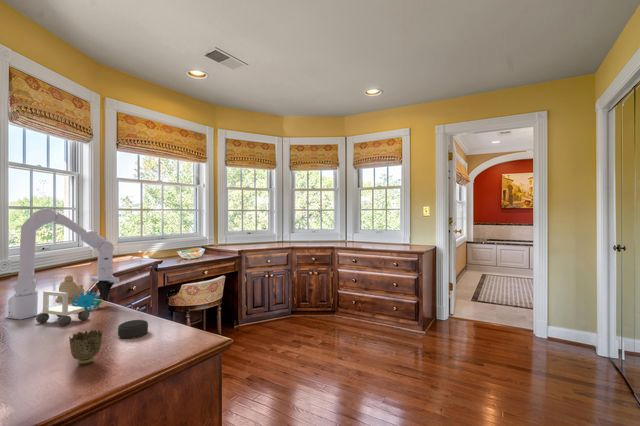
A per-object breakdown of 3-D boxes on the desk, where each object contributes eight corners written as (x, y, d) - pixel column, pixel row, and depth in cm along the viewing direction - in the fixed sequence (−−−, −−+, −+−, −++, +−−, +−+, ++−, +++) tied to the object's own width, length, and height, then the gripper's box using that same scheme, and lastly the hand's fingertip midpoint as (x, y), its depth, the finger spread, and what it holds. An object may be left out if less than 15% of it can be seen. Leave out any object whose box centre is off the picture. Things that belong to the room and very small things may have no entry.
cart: (35, 323, 121) (36, 292, 121) (65, 315, 131) (65, 286, 131) (61, 327, 117) (61, 294, 117) (89, 318, 127) (90, 288, 127)
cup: (80, 357, 92) (80, 329, 92) (107, 356, 93) (108, 328, 93) (61, 370, 84) (62, 339, 85) (91, 369, 85) (92, 338, 85)
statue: (44, 281, 147) (59, 271, 157) (50, 308, 151) (64, 297, 160) (73, 281, 149) (86, 271, 158) (78, 308, 153) (90, 296, 162)
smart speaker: (113, 341, 105) (114, 328, 105) (122, 331, 113) (122, 320, 113) (144, 338, 107) (144, 326, 107) (150, 329, 116) (150, 318, 116)
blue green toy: (68, 310, 133) (74, 289, 139) (68, 317, 136) (74, 297, 143) (100, 310, 138) (105, 290, 145) (99, 317, 141) (104, 298, 148)
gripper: (125, 267, 149) (124, 296, 148) (101, 265, 153) (100, 294, 153) (111, 269, 142) (110, 300, 142) (86, 267, 146) (86, 298, 146)
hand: (104, 297), depth 147 cm, fingers closed
